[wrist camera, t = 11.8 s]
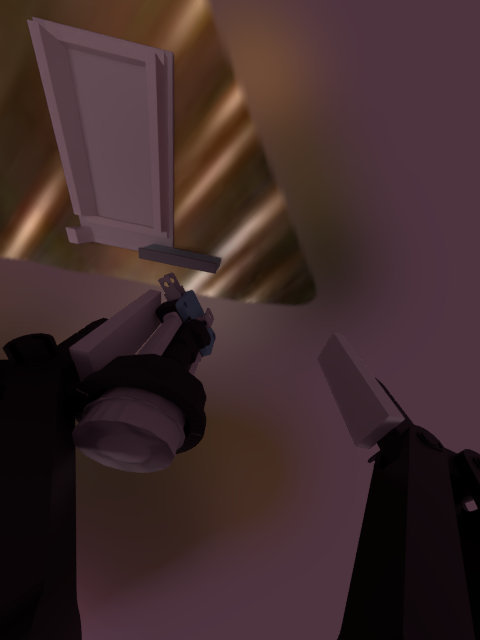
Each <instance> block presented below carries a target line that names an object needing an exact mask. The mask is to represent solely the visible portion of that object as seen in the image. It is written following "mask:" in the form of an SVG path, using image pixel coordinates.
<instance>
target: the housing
mask: <svg viewBox="0 0 480 640" xmlns="http://www.w3.org/2000/svg"><path fill="white" fill-rule="evenodd" d="M32 18H33V21H30V20H27V22H28V26H29V30H30V34H31V38H32V42H33V47H34V51H35V55H36V59H37V63H38V67H39V71H40V75H41V79H42V83H43V87H44V92H45V96H46V100H47V104H48V108H49V112H50V116H51V120H52V124H53V128H54V133H55V137H56V141H57V145H58V149H59V153H60V157H61V161H62V165H63V169H64V174H65V178H66V182H67V186H68V190H69V194H70V198H71V202H72V206H73V210H74V214H76V215H79V219H80V223H81V226H76V227H66V231H67V235H68V238H69V242H72V243H77V244H81V243H86V242H97V243H102V244H107V245H111V246H116V247H121V248H126V249H131V250H136V251H139V250H138V248H139V247H141V248H142V247H145V246H148V245H152V244H157V245H162V246H166V247H171V248H174V54H173V52H170V51H166V50H162V49H158V48H154V47H150V46H146V45H142V44H138V43H134V42H130V41H126V40H122V39H118V38H115V37H111V36H107V35H103V34H99V33H95V32H91V31H87V30H83V29H79V28H75V27H71V26H67V25H63V24H59V23H55V22H51V21H47V20H43V19H39V18H35V17H32Z"/></svg>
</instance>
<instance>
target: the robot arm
mask: <svg viewBox="0 0 480 640" xmlns="http://www.w3.org/2000/svg"><path fill="white" fill-rule="evenodd" d="M160 305H161V292H159V291H155V290H151V289H150V290H149V291H147V292H146V293H145V294H143V295H142V296H140V297H139V298H138V299H136V300H135V301H134V302H132V303H131V304H129V305H128V306H127V307H126V308H124V309H123V310H121V311H120V312H118V313H117V314H115V315H114V316H113V317H111V318H110V319H106V318H102V319H99V320H97V321H94V322H92V323H90V324H89V325H87V326H86V327H85V328H83V329H81V330H80V331H79V332H78V333H75V334H74V335H72V336H71V337H69V338H68V339H66V340H65V341H63V342H62V343H60V344H59V345H58V346H57V345H56V342H55V340H54V337H53V336H51V335H49V334H43V333H39V334H30V335H25V336H22V337H18V338H16V339H13V340H12V341H10V342H8V343H7V344H6V345H5V346H4V347H3V350H4V351H5V353H6V355H7V357H8V359H9V360H0V640H82V635H81V634H82V633H81V621H80V614H79V609H78V605H77V591H76V470H75V469H76V464H75V462H76V461H75V460H76V458H75V444H74V443H73V435H72V432H73V431H74V428H75V415H74V413H73V410H71V409H70V404H69V399H70V395H71V392H72V391H73V389H74V388H75V387H76V386H77V385H78V384H79V383H80V382H81V381H82V380H83V379H84V378H85V377H86V376H88V375H90V374H91V373H94V372H96V371H99V370H102V368H103V367H104V366H105V365H107V364H108V363H109V362H111V361H112V360H113V359H115V358H116V357H118V356H126V355H135V353H136V352H137V351H138V350H139V349H140V348H141V346H142V345H143V344H144V343H145V342H146V341H147V339H148V338H149V337H150V336H151V335H152V334H153V332H154V331H155V330H156V329H157V328H158V326H159V325H160V324H161V322H160V320H159V318H158V317H157V315H156V309H157V308H158V307H159V306H160ZM317 359H318V362H319V364H320V366H321V369H322V371H323V373H324V375H325V378H326V380H327V382H328V385H329V387H330V389H331V391H332V394H333V396H334V398H335V401H336V403H337V405H338V407H339V409H340V412H341V414H342V416H343V419H344V421H345V423H346V426H347V428H348V430H349V432H350V435H351V437H352V439H353V441H354V444H355V446H357V447H361V448H366V449H370V448H371V447H373V446H374V445H375V444H376V443H377V444H378V446H379V448H380V451H379V452H377V453H376V454H375V455H373V456H372V457H371V458H370V459H369V460H368V462H369V463H371V462H372V461H375V464H374V469H373V474H372V478H371V483H370V488H369V494H368V498H367V503H366V508H365V513H364V518H363V523H362V528H361V533H360V538H359V543H358V548H357V553H356V558H355V563H354V568H353V573H352V578H351V582H350V588H349V592H348V598H347V602H346V607H345V612H344V617H343V622H342V627H341V631H340V634H339V636H338V639H337V640H480V454H478V453H476V452H474V451H472V450H470V449H465V450H463V451H461V452H460V453H458V454H457V453H455V452H453V451H451V450H449V449H446V448H444V446H443V445H442V444H441V442H440V441H439V440H438V439H437V438H436V437H435V436H434V435H433V434H431V433H430V432H429V431H427V430H426V429H424V428H422V427H420V426H416V425H414V424H413V423H412V421H411V420H410V419H409V418H408V416H407V415H406V414H405V412H404V411H403V410H402V408H401V407H400V406H399V404H398V403H397V402H396V401H395V400H394V398H393V397H392V395H390V393H389V391H388V390H387V389H386V387H385V386H384V385H383V384H382V383H381V382H380V381H379V380H377V379H376V378H374V376H373V375H372V374H371V372H370V371H369V369H368V368H367V367H366V365H365V364H364V363H363V361H362V360H361V359H360V357H359V356H358V355H357V353H356V352H355V351H354V349H353V348H352V347H351V345H350V344H349V342H348V341H347V340H346V338H345V337H344V336H343V335H342V334H339V333H335V332H333V333H332V334H331V336H330V338H329V340H328V341H327V343H326V345H325V347H324V348H323V350H322V351H321V353H320V355H319V357H318V358H317ZM472 500H474V501H475V503H476V505H477V508H478V509H477V510H474V511H470V512H469V511H468V509H467V508H466V505H465V503H467V502H470V501H472Z"/></svg>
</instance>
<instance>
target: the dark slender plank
mask: <svg viewBox="0 0 480 640" xmlns="http://www.w3.org/2000/svg"><path fill="white" fill-rule="evenodd" d="M138 250H139V258H141V259H146V260H151V261H156V262H161V263H166V264H170V265H175V266H180V267H185V268H190V269H195V270H200V271H205V272H209V273H214V274H215V273H216V271H217V270H218V268H219V267H220V264H221V258H219V257H214V256H209V255H205V254H200V253H195V252H190V251H185V250H181V249H176V248H171V247H166V246H162V245H157V244H152V245H148V246H145V247H142V248H141V247H139V248H138Z"/></svg>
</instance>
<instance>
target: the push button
mask: <svg viewBox="0 0 480 640" xmlns="http://www.w3.org/2000/svg"><path fill="white" fill-rule="evenodd" d="M170 278H173V279H174V283H172V282H171V280H170ZM158 281H159V283H160V284H161V286H162V288H163V290H164V291H165V293H166V294H164V295H165V297H166V299H167V302H164V303H162V304H161V305H160V306H159V307H158V308H157V309H156V315H157V317H158V318H159V320H160V322H161V323H162V325H161V326H160V327H159V328H158V329H157V331H156V332H155V333H154V334H153V336H152V337H151V338H150V339H149V340H148V342H147V343H146V344H145V345H144V347H143V348H142V349H141V350H140V351H139V353H138V354H137V355H126V356H118V357H116V358H115V359H113V360H112V361H111V362H109V363H108V364H107V365H105V366H104V367H103V368H102V370H99V371H96V372H94V373H91V374H90V375H88V376H86V377H85V378H84V379H83V380H82V381H81V382H80V383H79V384H78V385H77V386H76V387H75V388H74V389H73V391H72V392H71V395H70V399H69V404H70V409H71V410H73V413H74V415H75V419H76V420H77V421H78V422H79V423H78V425H77V426H76V427H75V428H74V431H73V432H72V435H73V443H74V444H75V445H76V446H77V447H78V448H79V449H80V450H81V451H82V452H83V453H84V454H85V455H86V456H88V457H90V458H91V459H94V460H96V461H97V462H99V463H101V464H103V465H106V466H109V467H113V468H116V469H120V470H123V471H129V472H141V473H145V472H154V471H160V470H162V469H164V468H167V467H168V466H169V465H171V463H172V460H173V458H174V456H175V454H179V453H182V452H185V451H188V450H190V449H192V448H193V447H195V446H196V445H197V444H198V443H199V442H200V441H201V439H202V438H203V435H204V431H205V427H206V415H205V412H204V406H205V402H206V394H205V391H204V388H203V385H202V383H201V382H200V381H199V380H198V379H197V378H196V377H195V376H194V374H195V371H196V368H197V365H198V362H200V361H201V358H202V357H203V356H207V355H210V354H211V351H212V348H213V344H214V341H215V338H216V337H215V333H214V331H213V330H212V328H211V325H212V323H213V320H214V318H213V315H212V313H211V311H210V309H209V308H207V311H206V313H205V314H204V312H203V309H202V307H201V305H200V303H199V301H198V299H197V297H196V295H195V293H194V291H193V290H190V291H187V292H185V290H184V288H183V286H180V284H179V282H178V280H177V278H176V276H175V275H174V273H169V274H167V275H164V277H163V278H160V279H159V280H158ZM164 282H167V283H168V285H169V287H166V286H165V285H164ZM209 314H210V315H211V318H210V317H209Z"/></svg>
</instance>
